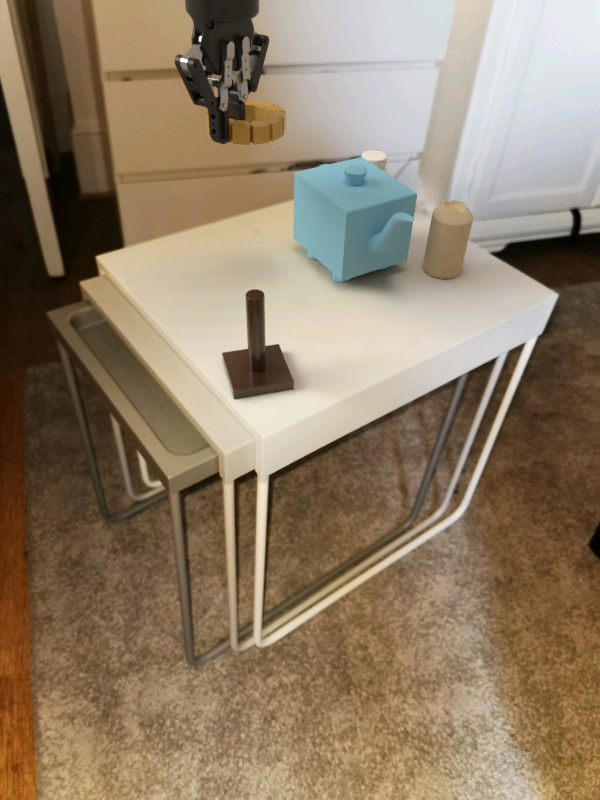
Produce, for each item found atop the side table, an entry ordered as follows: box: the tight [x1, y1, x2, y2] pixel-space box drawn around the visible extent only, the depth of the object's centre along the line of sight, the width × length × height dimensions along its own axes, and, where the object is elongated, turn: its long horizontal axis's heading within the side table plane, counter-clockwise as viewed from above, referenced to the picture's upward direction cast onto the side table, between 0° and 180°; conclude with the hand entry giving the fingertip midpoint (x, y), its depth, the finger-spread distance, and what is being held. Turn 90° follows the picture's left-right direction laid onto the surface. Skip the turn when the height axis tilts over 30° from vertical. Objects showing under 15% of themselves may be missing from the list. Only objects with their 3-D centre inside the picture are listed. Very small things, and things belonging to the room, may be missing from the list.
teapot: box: [292, 156, 418, 283], centre depth 88 cm, size 22×11×14 cm, turn 30°
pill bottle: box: [361, 149, 390, 175], centre depth 102 cm, size 5×5×9 cm
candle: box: [422, 199, 474, 280], centre depth 89 cm, size 6×6×10 cm
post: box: [221, 288, 295, 400], centre depth 71 cm, size 7×7×11 cm
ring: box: [205, 98, 287, 146], centre depth 76 cm, size 9×9×2 cm
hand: (227, 137), depth 74 cm, fingers closed on ring, 2 cm apart
